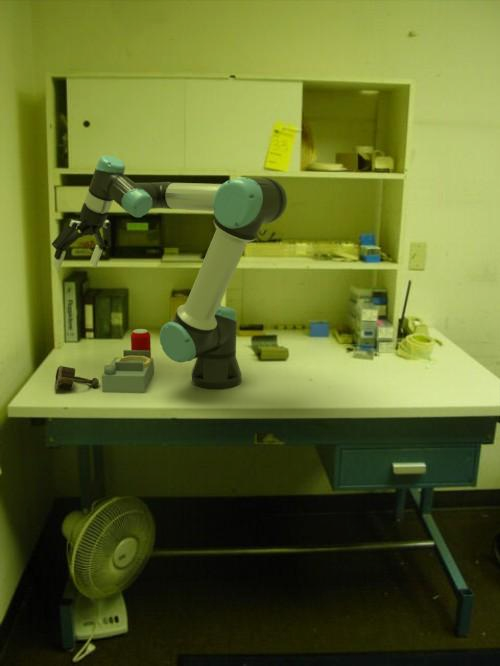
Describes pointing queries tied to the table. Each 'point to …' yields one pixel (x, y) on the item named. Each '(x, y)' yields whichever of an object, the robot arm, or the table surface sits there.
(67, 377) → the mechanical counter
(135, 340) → the beverage can
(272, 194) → the robot arm
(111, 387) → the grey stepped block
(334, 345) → the table surface
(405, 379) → the table surface
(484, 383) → the table surface
